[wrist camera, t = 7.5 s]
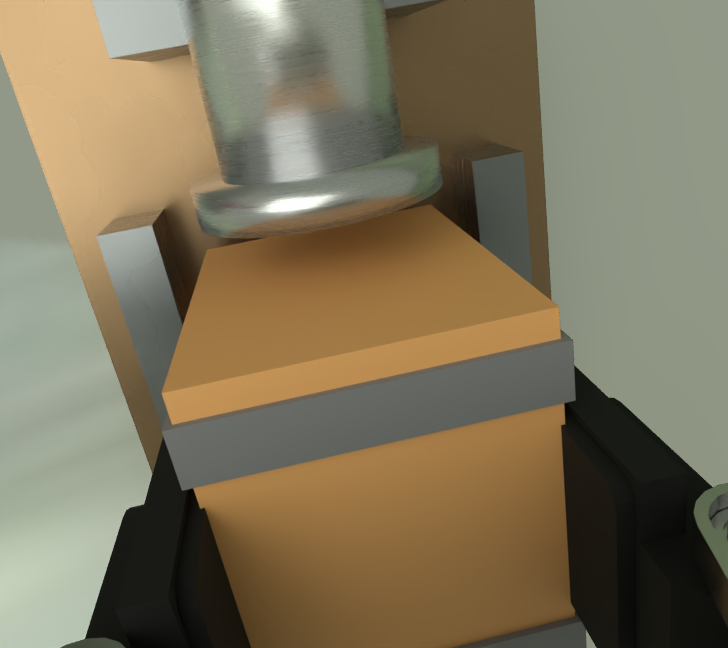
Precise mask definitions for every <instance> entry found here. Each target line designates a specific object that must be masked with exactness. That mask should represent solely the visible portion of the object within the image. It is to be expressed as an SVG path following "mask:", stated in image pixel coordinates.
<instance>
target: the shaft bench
mask: <svg viewBox="0 0 728 648" xmlns="http://www.w3.org/2000/svg"><path fill="white" fill-rule="evenodd" d="M0 53H1V56H2V59H3V61H4V64H5V67H6V70H7V72H8V75H9V78H10V81H11V84H12V86H13V89H14V92H15V94H16V97H17V100H18V103H19V106H20V108H21V111H22V114H23V117H24V119H25V122H26V125H27V128H28V131H29V133H30V136H31V139H32V142H33V144H34V147H35V150H36V153H37V155H38V158H39V161H40V164H41V167H42V169H43V172H44V175H45V178H46V180H47V183H48V186H49V189H50V191H51V194H52V197H53V200H54V202H55V205H56V208H57V211H58V214H59V216H60V219H61V222H62V224H63V227H64V230H65V233H66V236H67V238H68V241H69V244H70V247H71V250H72V252H73V255H74V258H75V261H76V263H77V266H78V269H79V272H80V274H81V277H82V280H83V283H84V285H85V288H86V291H87V294H88V297H89V299H90V302H91V305H92V308H93V310H94V313H95V316H96V319H97V321H98V324H99V327H100V330H101V332H102V335H103V338H104V341H105V344H106V346H107V349H108V352H109V355H110V357H111V360H112V363H113V366H114V368H115V371H116V374H117V377H118V379H119V382H120V385H121V388H122V391H123V393H124V396H125V399H126V402H127V404H128V407H129V410H130V413H131V415H132V418H133V421H134V424H135V426H136V429H137V432H138V435H139V438H140V440H141V443H142V446H143V449H144V451H145V454H146V457H147V460H148V462H149V465H150V468H151V471H152V474H153V471H154V467H155V463H156V460H157V456H158V452H159V449H160V445H161V442H162V438H163V434H162V429H163V425H164V421H165V418H166V414H167V408H166V405H165V402H164V399H163V396H162V390H163V387H164V384H165V381H166V378H167V375H168V371H169V368H170V365H171V362H172V359H173V355H174V352H175V349H176V346H177V343H178V340H179V336H180V333H181V330H182V327H183V324H184V321H185V317H186V314H187V311H188V308H189V305H190V302H191V298H192V295H193V292H194V289H195V286H196V283H197V279H198V276H199V273H200V270H201V267H202V264H203V260H204V257H205V254H206V251H207V250H208V249H213V248H218V247H223V246H228V245H233V244H238V243H243V242H248V241H253V240H258V239H263V238H268V237H276V236H285V235H293V234H300V233H307V232H313V231H319V230H324V229H330V228H335V227H339V226H344V225H348V224H353V223H357V222H361V221H365V220H369V219H372V218H376V217H379V216H382V215H386V214H389V213H392V212H396V211H401V210H406V209H411V208H416V207H421V206H426V205H432V206H433V207H434V208H436V209H437V210H438V211H439V212H441V213H442V214H443V215H444V216H446V217H447V218H448V219H449V220H451V221H452V222H453V223H454V224H456V225H457V226H458V227H459V228H461V229H462V230H463V231H464V232H466V233H467V234H468V235H470V236H471V237H472V238H473V239H475V240H476V241H477V242H478V243H480V244H481V245H482V246H483V247H485V248H486V249H487V250H488V251H490V252H491V253H492V254H493V255H495V256H496V257H497V258H498V259H500V260H501V261H502V262H503V263H505V264H506V265H507V266H509V267H510V268H511V269H512V270H514V271H515V272H516V273H517V274H519V275H520V276H521V277H522V278H524V279H525V280H526V281H527V282H529V283H530V284H531V285H532V286H534V287H535V288H536V289H537V290H539V291H540V292H541V293H542V294H544V295H545V296H546V297H548V298H549V299H550V300H551V287H550V268H549V251H548V234H547V216H546V198H545V181H544V164H543V147H542V129H541V111H540V95H539V76H538V58H537V41H536V24H535V6H534V0H0Z"/></svg>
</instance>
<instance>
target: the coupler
mask: <svg viewBox="0 0 728 648" xmlns="http://www.w3.org/2000/svg"><path fill="white" fill-rule="evenodd" d="M559 313H560V312H559V306H558V305H556V304H555V303H554V302H552V301H551V300H550V299H549V298H548V297H546V296H545V295H544V294H542V293H541V292H540V291H539V290H537V289H536V288H535V287H534V286H532V285H531V284H530V283H529V282H527V281H526V280H525V279H524V278H522V277H521V276H520V275H519V274H517V273H516V272H515V271H514V270H512V269H511V268H510V267H509V266H507V265H506V264H505V263H503V262H502V261H501V260H500V259H498V258H497V257H496V256H495V255H493V254H492V253H491V252H490V251H488V250H487V249H486V248H485V247H483V246H482V245H481V244H480V243H478V242H477V241H476V240H475V239H473V238H472V237H471V236H470V235H468V234H467V233H466V232H464V231H463V230H462V229H461V228H459V227H458V226H457V225H456V224H454V223H453V222H452V221H451V220H449V219H448V218H447V217H446V216H444V215H443V214H442V213H441V212H439V211H438V210H437V209H436V208H434V207H433V206H432V205H426V206H421V207H416V208H411V209H406V210H401V211H396V212H392V213H389V214H386V215H382V216H379V217H376V218H372V219H369V220H365V221H361V222H357V223H353V224H348V225H344V226H339V227H335V228H330V229H324V230H319V231H313V232H307V233H300V234H293V235H285V236H276V237H268V238H263V239H258V240H253V241H248V242H243V243H238V244H233V245H228V246H223V247H218V248H213V249H208V250H207V251H206V254H205V257H204V260H203V264H202V267H201V270H200V273H199V276H198V279H197V283H196V286H195V289H194V292H193V295H192V298H191V302H190V305H189V308H188V311H187V314H186V317H185V321H184V324H183V327H182V330H181V333H180V336H179V340H178V343H177V346H176V349H175V352H174V355H173V359H172V362H171V365H170V368H169V371H168V375H167V378H166V381H165V384H164V387H163V390H162V396H163V399H164V402H165V405H166V408H167V414H166V418H165V421H164V425H163V429H162V434H163V437H164V440H165V443H166V446H167V448H168V451H169V454H170V457H171V460H172V463H173V466H174V469H175V472H176V475H177V477H178V480H179V483H180V486H181V489H182V491H183V490H187V489H192V488H193V489H194V492H195V495H196V498H197V501H198V504H199V507H200V509H201V508H205V510H206V513H207V516H208V519H209V522H210V525H211V528H212V531H213V534H214V537H215V540H216V543H217V546H218V549H219V552H220V555H221V558H222V561H223V564H224V567H225V570H226V573H227V576H228V579H229V582H230V585H231V589H232V592H233V595H234V598H235V601H236V604H237V607H238V610H239V613H240V616H241V619H242V622H243V625H244V628H245V631H246V634H247V637H248V640H249V643H250V646H251V648H586V628H585V627H584V625H583V623H582V621H581V620H580V618H579V616H578V614H577V613H576V611H575V609H574V608H573V606H572V604H571V598H570V580H569V561H568V543H567V525H566V507H565V489H564V471H563V452H562V434H561V425H564V424H565V409H564V403H567V402H571V401H576V398H575V375H574V354H573V353H574V352H573V340H572V339H571V338H570V337H569V336H568V335H566V334H565V333H564V332H563V331H562V330H561V329H560V314H559Z"/></svg>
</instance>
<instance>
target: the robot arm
mask: <svg viewBox="0 0 728 648" xmlns="http://www.w3.org/2000/svg"><path fill="white" fill-rule="evenodd" d="M574 375H575V398H576V401H571V402H567V403H564V409H565V424H564V425H561V434H562V452H563V471H564V489H565V507H566V525H567V543H568V561H569V580H570V598H571V604H572V606H573V608H574V609H575V611H576V613H577V614H578V616H579V618H580V620H581V621H582V623H583V625H584V627H585V628H586V630H587V632H588V633H589V635H590V637H591V639H592V640H593V642H594V644H595V646H596V647H597V648H728V483H727V484H720V485H717V486H715V487H712V486H711V485H709V484H708V483H707V482H706V481H705V480H704V479H703V478H702V477H701V476H700V475H699V474H698V473H697V472H696V471H695V470H693V469H692V468H691V467H690V466H689V465H688V464H687V463H686V462H685V461H683V459H682V458H680V457H679V456H678V455H677V454H676V453H675V452H674V451H673V450H672V449H671V448H670V447H669V446H667V445H666V444H665V443H664V442H663V441H662V440H661V439H660V438H659V437H658V436H657V435H656V434H655V433H653V432H652V431H651V430H650V429H649V428H648V427H647V426H646V425H645V424H644V423H643V422H641V420H640V419H638V418H637V417H636V416H635V415H634V414H633V413H632V412H631V411H630V410H629V409H628V408H627V407H625V406H624V405H623V404H622V403H621V402H620V401H618V400H616V399H615V398H608V397H607V396H606V395H605V394H604V393H603V392H602V391H601V390H600V389H599V388H597V386H596V385H595V384H593V383H592V382H591V381H590V380H589V379H588V378H587V377H586V376H585V375H584V374H583V373H582V372H581V371H579V369H578V368H576V367H575V366H574ZM61 648H251V646H250V643H249V640H248V637H247V634H246V631H245V628H244V625H243V622H242V619H241V616H240V613H239V610H238V607H237V604H236V601H235V598H234V595H233V592H232V589H231V585H230V582H229V579H228V576H227V573H226V570H225V567H224V564H223V561H222V558H221V555H220V552H219V549H218V546H217V543H216V540H215V537H214V534H213V531H212V528H211V525H210V522H209V519H208V516H207V513H206V510H205V508H201V509H200V507H199V504H198V501H197V498H196V495H195V492H194V489H193V488H192V489H187V490H183V491H182V489H181V486H180V483H179V480H178V477H177V475H176V472H175V469H174V466H173V463H172V460H171V457H170V454H169V451H168V448H167V446H166V443H165V440H164V437H163V438H162V442H161V445H160V449H159V452H158V456H157V460H156V463H155V467H154V471H153V474H152V478H151V482H150V485H149V489H148V493H147V496H146V500H145V504H144V505H140V506H136V507H131V508H129V509H128V510H126V512H125V514H124V517H123V519H122V522H121V526H120V529H119V532H118V535H117V538H116V542H115V545H114V548H113V551H112V554H111V558H110V561H109V564H108V567H107V570H106V573H105V577H104V580H103V583H102V586H101V589H100V593H99V596H98V599H97V602H96V605H95V609H94V612H93V615H92V618H91V621H90V625H89V628H88V631H87V634H86V637H85V639H84V640H80V641H77V642H74V643H70V644H67V645H65V646H63V647H61Z"/></svg>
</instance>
